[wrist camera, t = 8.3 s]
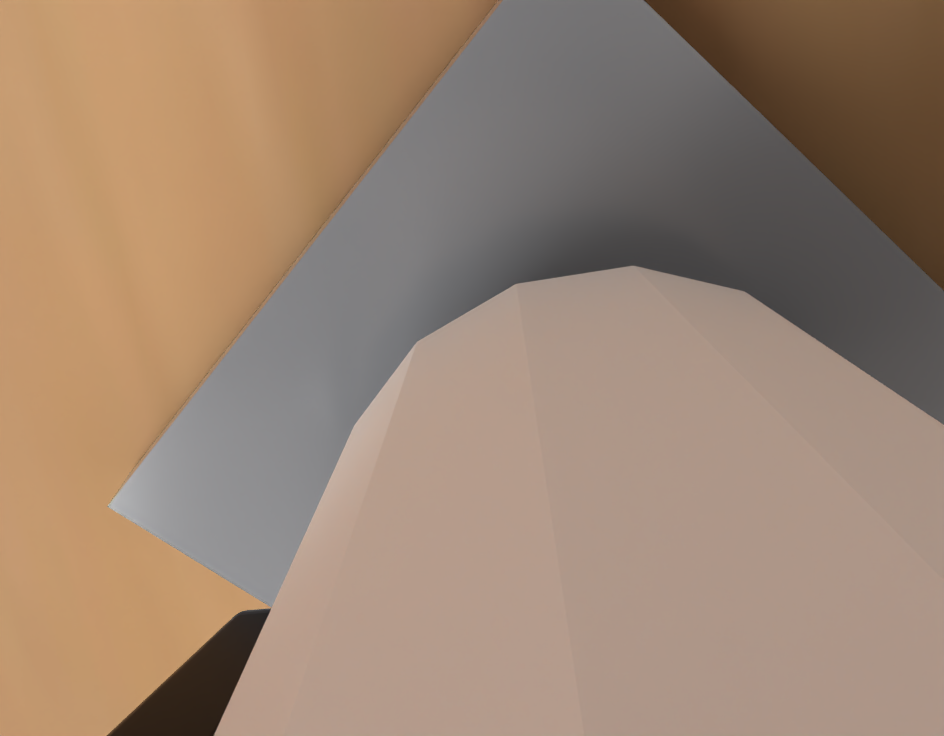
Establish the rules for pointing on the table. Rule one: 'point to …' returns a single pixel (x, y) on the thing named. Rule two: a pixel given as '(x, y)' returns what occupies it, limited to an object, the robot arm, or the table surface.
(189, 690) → the robot arm
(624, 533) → the white cup
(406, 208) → the slate tile
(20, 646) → the table surface
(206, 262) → the table surface
